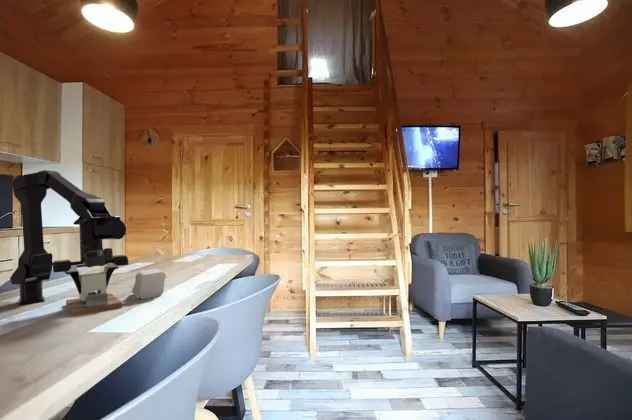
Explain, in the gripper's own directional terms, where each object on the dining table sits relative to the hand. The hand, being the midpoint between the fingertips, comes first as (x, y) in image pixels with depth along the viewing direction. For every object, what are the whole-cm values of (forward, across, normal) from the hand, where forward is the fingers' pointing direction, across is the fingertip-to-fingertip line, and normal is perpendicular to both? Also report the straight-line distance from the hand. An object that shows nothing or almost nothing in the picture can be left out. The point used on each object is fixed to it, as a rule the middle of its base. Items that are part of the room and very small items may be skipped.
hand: (92, 292), depth 110 cm
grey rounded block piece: (+4, +15, +2) cm, 16 cm away
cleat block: (+2, 0, 0) cm, 2 cm away
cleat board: (+4, 0, -2) cm, 4 cm away
